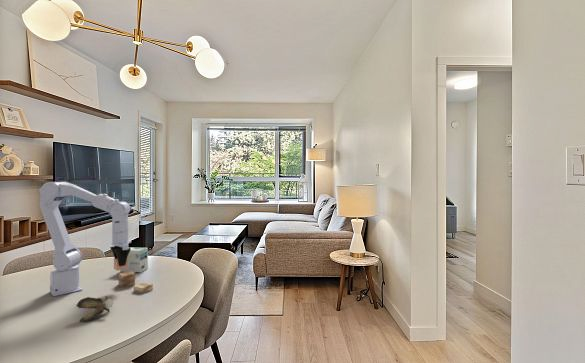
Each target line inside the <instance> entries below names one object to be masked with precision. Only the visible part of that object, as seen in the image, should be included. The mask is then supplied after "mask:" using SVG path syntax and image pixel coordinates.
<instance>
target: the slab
mask: <svg viewBox="0 0 585 363" xmlns="http://www.w3.org/2000/svg"><path fill="white" fill-rule="evenodd" d="M153 290H154V284H153V283H149V282H146V281H144V282H141V283H138V284H135V285H133V292H135V293H138V294H144V293H147V292H150V291H153Z"/></svg>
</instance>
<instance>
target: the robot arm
mask: <svg viewBox="0 0 585 363" xmlns="http://www.w3.org/2000/svg"><path fill="white" fill-rule="evenodd" d="M38 193H39V194H40V197H39V208H40V211H41V214H42V217H43V219H44V220H43V221H44V222H45V225H46V227H47V229H48V230H47V231H48V232H49V236H50V239H51V241H52V243H53V247H54V250H53V252H52V254H51V256H52V265H53V267H54V268H55V269H56V270H52V271H50V273H49V292H50V293H51V296H52V297H56V296H60V295H65V294H69V293H75V292H80V291H83V288H82V287H81V285H80V263H81V262H82V260H83V256H84V255H83V253H82V251H80V250H79V249H78V247H77V245H76V244H74V243H73V242H72V240H71V238H70V236H69V233H68V231H67V227H66V225H65V222H64V220H63V216H62V214H61V211H60V209H59V205H60V204H61V203H62V201H64V199H66V198H67V197H68V196H73V197H76V198H79V199H81V200H85V201H88V202H90V203H92V206H93V207H95V208H96V209H100V210H101V211H105V212H107V213H108V214H109V215H110V216H111V217H112V218H111V220H112V221H111V222H112V225H111V226H112V230H111V232H112V236H111V238H112V239H111V240H112V242H111V245H112V246H110V247H109V248H110V250H111V251H112V254H113V256H114V257H113V258H114V259H117V258H118V263H119V266H125V264H126V260H127V256H128V254H129V252H130V250H131V248H132V247H130V248H129V244H131V243H132V240H129V213H130V212H131V205H130V204H129V203H128V202H126V201H125V200H124V201H123V200H121V201H120V199H118V198H113V197H110V196H108V194H107V193H99V194H95V193H94V192H91V191H89V190H86V189H84V188H82V187H80V186H78V185H76V184H74V183H71V182H68V181H47V182H45V183H44V184H43V185H42V186H40V188H39V190H38Z"/></svg>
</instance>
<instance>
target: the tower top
mask: <svg viewBox="0 0 585 363" xmlns="http://www.w3.org/2000/svg"><path fill="white" fill-rule="evenodd" d="M118 279H119V280H120V281H121V282H126V281H131V280H135V281H136V272H132V271H130V272H119V273H118Z"/></svg>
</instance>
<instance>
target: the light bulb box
mask: <svg viewBox="0 0 585 363" xmlns="http://www.w3.org/2000/svg"><path fill="white" fill-rule="evenodd" d="M129 248H131V250H130V252H129V254H128V256H127V259H128V269H123V270H119V271H120V272H119V273H125V272H130V271H132V272H134V273H136V272H140V273H142V272H145V271H146V270H148V269H149V263H148V262H149V261H148V260H149V258H148V257H149V255H148V254H149V252H148V249H149V248H148V247H129Z"/></svg>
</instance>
